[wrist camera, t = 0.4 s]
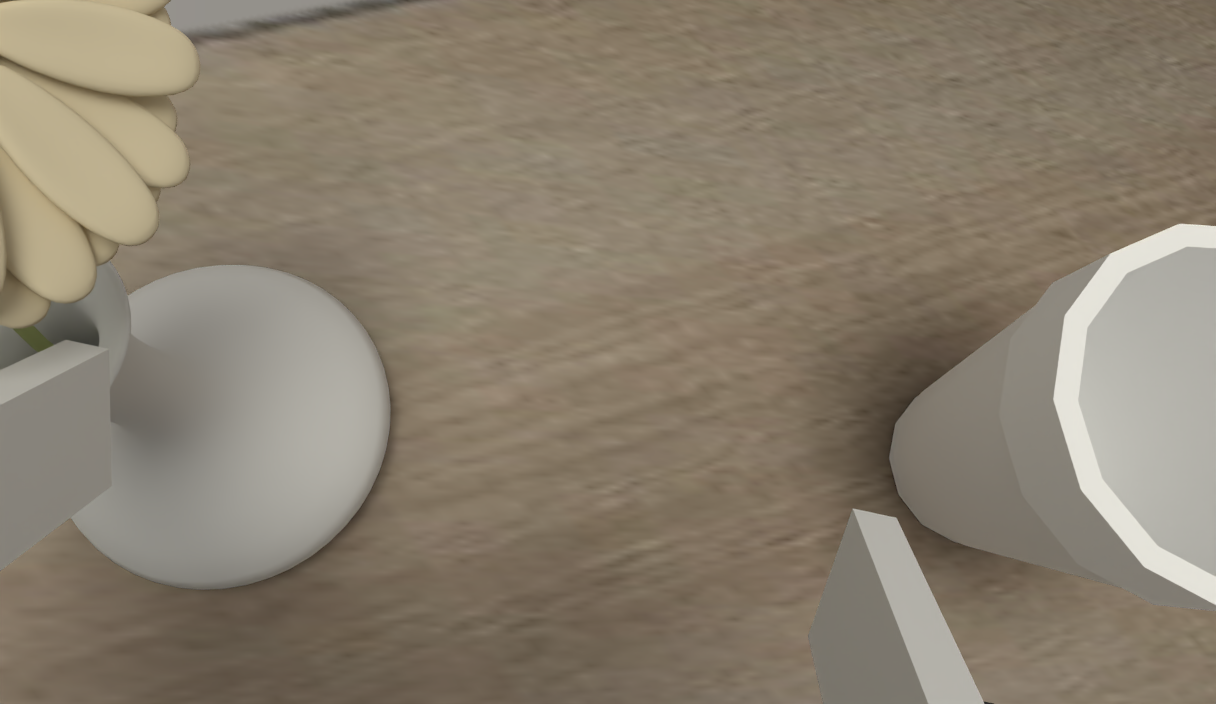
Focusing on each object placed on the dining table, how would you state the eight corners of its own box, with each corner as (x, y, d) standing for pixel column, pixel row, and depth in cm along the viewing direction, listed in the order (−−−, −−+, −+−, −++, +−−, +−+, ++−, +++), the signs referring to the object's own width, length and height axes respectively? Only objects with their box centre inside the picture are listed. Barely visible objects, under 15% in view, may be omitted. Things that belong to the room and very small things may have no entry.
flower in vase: (271, 651, 29) (-1278, 1266, 4) (8, 474, 29) (-2639, 132, 5) (483, 346, 32) (286, -311, 7) (241, 192, 32) (-681, -881, 8)
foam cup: (1115, 416, 33) (1472, 338, 20) (1036, 631, 31) (1381, 693, 18) (904, 305, 33) (1126, 160, 21) (811, 509, 31) (995, 487, 18)
